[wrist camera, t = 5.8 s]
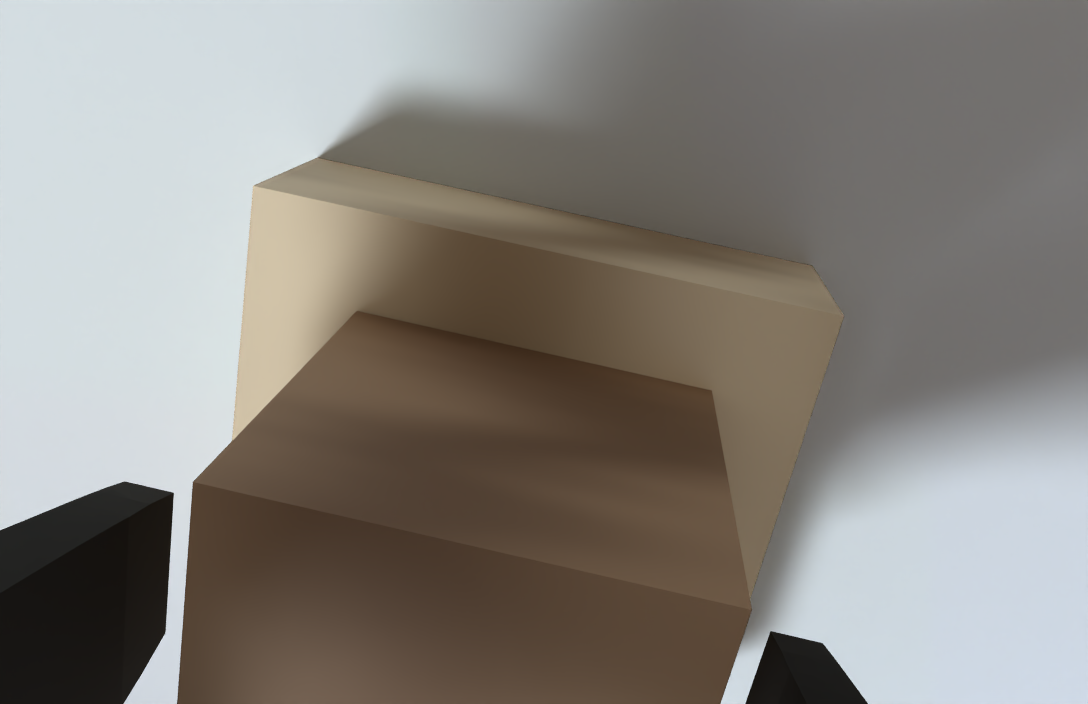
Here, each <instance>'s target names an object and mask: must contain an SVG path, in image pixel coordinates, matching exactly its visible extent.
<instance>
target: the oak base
mask: <svg viewBox="0 0 1088 704" xmlns="http://www.w3.org/2000/svg"><path fill="white" fill-rule="evenodd" d="M356 311H360V312H364V313H369V314H373V315H378V316H382V317H387V318H391V319H395V320H400V321H404V322H409V323H413V324H418V325H422V326H427V327H431V328H436V329H440V330H445V331H449V332H454V333H458V334H463V335H467V336H472V337H476V338H481V339H485V340H490V341H494V342H498V343H503V344H507V345H512V346H516V347H521V348H525V349H530V350H534V351H539V352H543V353H548V354H552V355H557V356H561V357H566V358H570V359H575V360H579V361H584V362H588V363H592V364H597V365H601V366H606V367H610V368H615V369H619V370H624V371H628V372H632V373H637V374H641V375H646V376H650V377H654V378H659V379H663V380H668V381H672V382H676V383H681V384H685V385H690V386H694V387H699V388H703V389H707V390H712V394H713V399H714V405H715V410H716V416H717V421H718V427H719V432H720V438H721V443H722V449H723V454H724V460H725V465H726V471H727V476H728V482H729V487H730V492H731V498H732V503H733V509H734V514H735V520H736V525H737V531H738V536H739V542H740V547H741V553H742V558H743V564H744V569H745V575H746V580H747V586H748V591H749V597H750V598H751V595H752V592H753V589H754V586H755V583H756V580H757V577H758V574H759V571H760V568H761V565H762V562H763V559H764V556H765V553H766V550H767V547H768V544H769V541H770V538H771V535H772V532H773V529H774V526H775V523H776V520H777V517H778V514H779V511H780V508H781V505H782V502H783V499H784V496H785V493H786V490H787V487H788V484H789V481H790V478H791V475H792V472H793V469H794V466H795V463H796V460H797V456H798V453H799V450H800V447H801V444H802V441H803V438H804V435H805V432H806V429H807V426H808V423H809V420H810V417H811V414H812V411H813V408H814V405H815V402H816V399H817V396H818V393H819V390H820V387H821V384H822V381H823V378H824V375H825V372H826V369H827V366H828V363H829V360H830V357H831V354H832V351H833V348H834V345H835V342H836V339H837V336H838V333H839V330H840V327H841V324H842V321H843V318H844V315H843V313H842V312H841V310H840V309H839V307H838V306H837V304H836V302H835V301H834V299H833V298H832V296H831V294H830V293H829V291H828V290H827V288H826V286H825V285H824V283H823V282H822V280H821V279H820V277H819V275H818V274H817V272H816V271H815V269H814V267H813V266H811V265H806V264H801V263H797V262H792V261H788V260H783V259H779V258H774V257H769V256H765V255H760V254H756V253H751V252H747V251H742V250H737V249H733V248H728V247H724V246H719V245H715V244H710V243H705V242H701V241H696V240H692V239H687V238H683V237H678V236H673V235H669V234H664V233H660V232H655V231H650V230H646V229H641V228H637V227H632V226H628V225H623V224H618V223H614V222H609V221H605V220H600V219H596V218H591V217H586V216H582V215H577V214H573V213H568V212H564V211H559V210H554V209H550V208H545V207H541V206H536V205H532V204H527V203H522V202H518V201H513V200H509V199H504V198H500V197H495V196H490V195H486V194H481V193H477V192H472V191H467V190H463V189H458V188H454V187H449V186H445V185H440V184H435V183H431V182H426V181H422V180H417V179H413V178H408V177H403V176H399V175H394V174H390V173H385V172H381V171H376V170H371V169H367V168H362V167H358V166H353V165H349V164H344V163H339V162H335V161H330V160H326V159H321V158H315V159H313V160H311V161H309V162H306V163H304V164H302V165H299V166H297V167H295V168H293V169H290V170H288V171H286V172H283V173H281V174H279V175H277V176H274V177H272V178H270V179H267V180H265V181H263V182H261V183H258V184H256V185H254V186H253V194H252V206H251V218H250V230H249V242H248V254H247V267H246V279H245V291H244V303H243V315H242V327H241V339H240V351H239V363H238V375H237V387H236V399H235V411H234V423H233V435H232V441H233V440H234V439H235V438H236V437H237V435H238V434H239V433H240V432H241V431H242V430H243V429H244V428H245V427H246V426H247V425H248V424H249V423H250V422H251V421H252V420H253V419H254V418H255V417H256V416H257V415H258V414H259V413H260V411H261V410H262V409H263V408H264V407H265V406H266V405H267V404H268V403H269V402H270V401H271V400H272V399H273V398H274V397H275V396H276V395H277V394H278V393H279V392H280V391H281V390H282V388H283V387H284V386H285V385H286V384H287V383H288V382H289V381H290V380H291V379H292V378H293V377H294V376H295V375H296V374H297V373H298V372H299V371H300V370H301V369H302V368H303V367H304V365H305V364H306V363H307V362H308V361H309V360H310V359H311V358H312V357H313V356H314V355H315V354H316V353H317V352H318V351H319V350H320V349H321V348H322V347H323V346H324V345H325V344H326V342H327V341H328V340H329V339H330V338H331V337H332V336H333V335H334V334H335V333H336V332H337V331H338V330H339V329H340V328H341V327H342V326H343V325H344V324H345V323H346V322H347V321H348V320H349V318H350V317H351V316H352V315H353V314H354V313H355V312H356Z"/></svg>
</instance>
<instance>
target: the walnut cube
mask: <svg viewBox="0 0 1088 704" xmlns="http://www.w3.org/2000/svg"><path fill="white" fill-rule="evenodd" d="M751 611H752V608H751V602H750V597H749V591H748V586H747V580H746V575H745V569H744V564H743V558H742V553H741V547H740V542H739V536H738V531H737V525H736V520H735V514H734V509H733V503H732V498H731V492H730V487H729V482H728V476H727V471H726V465H725V460H724V454H723V449H722V443H721V438H720V432H719V427H718V421H717V416H716V410H715V405H714V399H713V394H712V390H707V389H703V388H699V387H694V386H690V385H685V384H681V383H676V382H672V381H668V380H663V379H659V378H654V377H650V376H646V375H641V374H637V373H632V372H628V371H624V370H619V369H615V368H610V367H606V366H601V365H597V364H592V363H588V362H584V361H579V360H575V359H570V358H566V357H561V356H557V355H552V354H548V353H543V352H539V351H534V350H530V349H525V348H521V347H516V346H512V345H507V344H503V343H498V342H494V341H490V340H485V339H481V338H476V337H472V336H467V335H463V334H458V333H454V332H449V331H445V330H440V329H436V328H431V327H427V326H422V325H418V324H413V323H409V322H404V321H400V320H395V319H391V318H387V317H382V316H378V315H373V314H369V313H364V312H360V311H356V312H355V313H354V314H353V315H352V316H351V317H350V318H349V320H348V321H347V322H346V323H345V324H344V325H343V326H342V327H341V328H340V329H339V330H338V331H337V332H336V333H335V334H334V335H333V336H332V337H331V338H330V339H329V340H328V341H327V342H326V344H325V345H324V346H323V347H322V348H321V349H320V350H319V351H318V352H317V353H316V354H315V355H314V356H313V357H312V358H311V359H310V360H309V361H308V362H307V363H306V364H305V365H304V367H303V368H302V369H301V370H300V371H299V372H298V373H297V374H296V375H295V376H294V377H293V378H292V379H291V380H290V381H289V382H288V383H287V384H286V385H285V386H284V387H283V388H282V390H281V391H280V392H279V393H278V394H277V395H276V396H275V397H274V398H273V399H272V400H271V401H270V402H269V403H268V404H267V405H266V406H265V407H264V408H263V409H262V410H261V411H260V413H259V414H258V415H257V416H256V417H255V418H254V419H253V420H252V421H251V422H250V423H249V424H248V425H247V426H246V427H245V428H244V429H243V430H242V431H241V432H240V433H239V434H238V435H237V437H236V438H235V439H234V440H233V441H232V442H231V443H230V444H229V445H228V446H227V447H226V448H225V449H224V450H223V451H222V452H221V453H220V454H219V455H218V456H217V457H216V458H215V460H214V461H213V462H212V463H211V464H210V465H209V466H208V467H207V468H206V469H205V470H204V471H203V472H202V473H201V474H200V475H199V476H198V477H197V478H196V479H195V480H194V481H193V489H192V503H191V517H190V531H189V545H188V559H187V573H186V587H185V602H184V616H183V630H182V644H181V658H180V672H179V686H178V700H177V704H720V703H721V700H722V697H723V694H724V691H725V688H726V685H727V682H728V680H729V677H730V674H731V671H732V668H733V665H734V662H735V659H736V656H737V653H738V650H739V647H740V644H741V641H742V638H743V635H744V632H745V629H746V626H747V623H748V620H749V617H750V614H751Z"/></svg>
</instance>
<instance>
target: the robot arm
mask: <svg viewBox="0 0 1088 704" xmlns="http://www.w3.org/2000/svg"><path fill="white" fill-rule="evenodd" d="M173 497H174V493H172V492H168V491H163V490H159V489H155V488H150V487H146V486H142V485H138V484H133V483H129V482H122V483H119V484H116V485H113V486H110V487H107V488H104V489H101V490H99V491H96V492H94V493H91V494H88V495H86V496H83V497H81V498H78V499H76V500H73V501H71V502H68V503H66V504H64V505H61V506H59V507H56V508H54V509H51V510H49V511H47V512H44V513H42V514H39V515H37V516H34V517H32V518H30V519H27V520H25V521H22V522H20V523H17V524H15V525H12V526H10V527H7V528H5V529H3V530H0V704H123V703H124V702H125V700H126V699H127V697H128V695H129V694H130V692H131V690H132V689H133V687H134V686H135V684H136V682H137V681H138V679H139V677H140V676H141V674H142V673H143V671H144V669H145V667H146V666H147V664H148V662H149V660H150V659H151V657H152V655H153V653H154V652H155V650H156V648H157V646H158V645H159V643H160V641H161V639H162V638H163V636H164V634H165V630H166V614H167V597H168V580H169V563H170V547H171V530H172V513H173ZM746 704H868V703H867V702H866V701H865V699H864V698H863V696H862V695H861V694H860V692H859V691H858V690H857V688H856V687H855V686H854V684H853V683H852V681H851V680H850V679H849V677H848V676H847V675H846V673H845V672H844V671H843V669H842V668H841V666H840V665H839V664H838V662H837V661H836V660H835V659H834V657H833V656H832V655H831V653H830V652H829V651H828V650H827V648H826V647H825V646H824V645H823V643H819V642H815V641H811V640H806V639H802V638H798V637H793V636H789V635H785V634H780V633H776V632H772V631H771V632H770V635H769V637H768V640H767V643H766V646H765V649H764V652H763V655H762V658H761V660H760V663H759V666H758V669H757V672H756V675H755V678H754V681H753V683H752V686H751V689H750V692H749V695H748V698H747V701H746Z"/></svg>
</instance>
